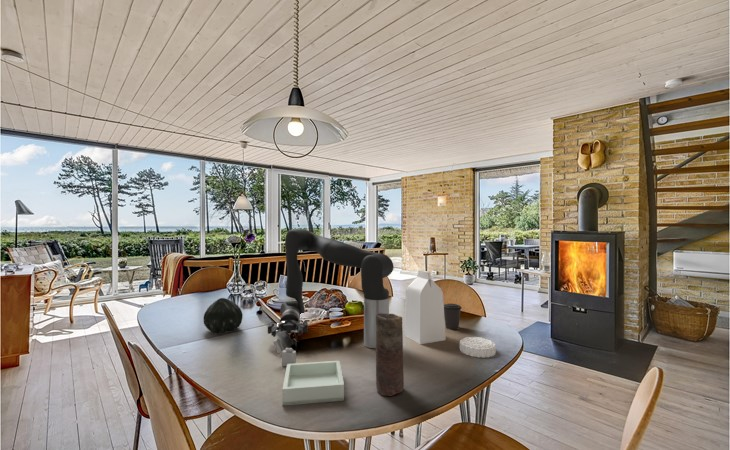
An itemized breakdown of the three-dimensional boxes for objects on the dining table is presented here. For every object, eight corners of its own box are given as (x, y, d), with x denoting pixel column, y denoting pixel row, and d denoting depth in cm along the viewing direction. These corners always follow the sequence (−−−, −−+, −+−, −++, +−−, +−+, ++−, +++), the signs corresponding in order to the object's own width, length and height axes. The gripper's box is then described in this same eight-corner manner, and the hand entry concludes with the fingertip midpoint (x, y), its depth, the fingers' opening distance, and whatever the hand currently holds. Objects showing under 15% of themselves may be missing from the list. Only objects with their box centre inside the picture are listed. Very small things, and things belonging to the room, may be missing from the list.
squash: (234, 310, 151) (214, 289, 143) (254, 316, 142) (234, 294, 134) (211, 337, 143) (188, 316, 134) (231, 345, 134) (208, 324, 126)
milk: (403, 334, 134) (403, 270, 134) (427, 331, 138) (427, 268, 138) (419, 344, 123) (419, 273, 123) (445, 340, 127) (445, 272, 127)
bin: (339, 374, 98) (339, 360, 98) (344, 400, 83) (344, 384, 83) (287, 377, 95) (287, 363, 95) (282, 405, 81) (282, 389, 81)
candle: (374, 383, 92) (374, 311, 92) (400, 382, 92) (400, 310, 93) (377, 397, 84) (377, 318, 84) (406, 396, 85) (406, 318, 85)
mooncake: (466, 343, 124) (466, 333, 124) (499, 349, 117) (499, 339, 117) (454, 353, 115) (454, 342, 115) (490, 361, 108) (490, 350, 108)
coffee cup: (464, 330, 139) (464, 306, 139) (444, 330, 139) (444, 306, 139) (458, 324, 147) (458, 302, 147) (440, 324, 147) (440, 302, 147)
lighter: (296, 364, 105) (296, 339, 105) (293, 366, 103) (293, 341, 103) (275, 362, 106) (275, 337, 106) (272, 365, 104) (272, 339, 104)
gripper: (271, 311, 131) (265, 323, 114) (308, 310, 133) (307, 321, 117) (271, 330, 131) (265, 345, 114) (308, 329, 133) (307, 343, 117)
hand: (286, 333), depth 116 cm, fingers open, 8 cm apart
